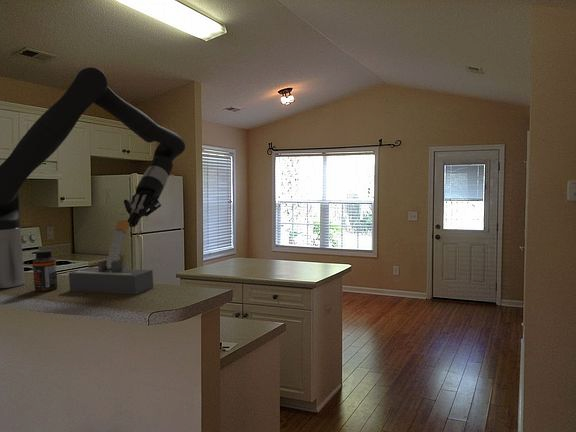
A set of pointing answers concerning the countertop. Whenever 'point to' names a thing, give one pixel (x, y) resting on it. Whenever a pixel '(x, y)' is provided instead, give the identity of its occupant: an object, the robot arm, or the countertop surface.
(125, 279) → the block
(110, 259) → the lever
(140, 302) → the countertop surface
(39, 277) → the supplement bottle
